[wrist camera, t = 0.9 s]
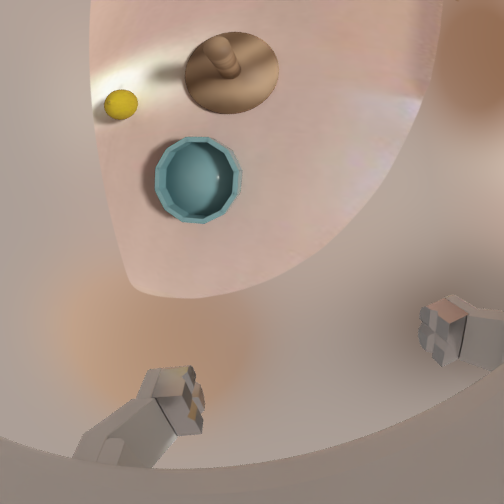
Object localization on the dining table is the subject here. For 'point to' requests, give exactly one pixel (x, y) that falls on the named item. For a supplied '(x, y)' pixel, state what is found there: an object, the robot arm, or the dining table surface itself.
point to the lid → (232, 73)
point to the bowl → (198, 179)
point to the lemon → (120, 104)
